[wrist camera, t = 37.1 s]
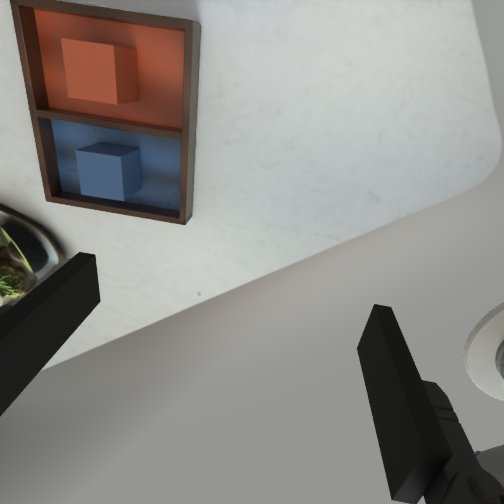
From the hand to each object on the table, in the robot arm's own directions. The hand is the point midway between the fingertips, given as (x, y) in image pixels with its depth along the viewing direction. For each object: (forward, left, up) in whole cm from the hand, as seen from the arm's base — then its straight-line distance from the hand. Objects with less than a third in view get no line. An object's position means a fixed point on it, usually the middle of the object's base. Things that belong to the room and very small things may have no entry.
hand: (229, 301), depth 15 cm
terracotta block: (+8, +18, -26) cm, 32 cm away
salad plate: (-19, +36, -27) cm, 49 cm away
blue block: (-2, +18, -26) cm, 32 cm away
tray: (+3, +18, -27) cm, 32 cm away
